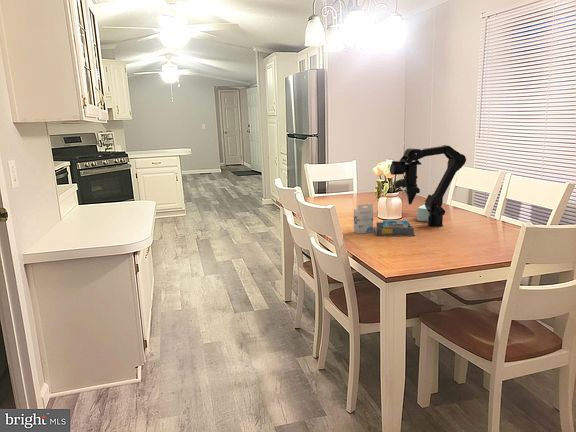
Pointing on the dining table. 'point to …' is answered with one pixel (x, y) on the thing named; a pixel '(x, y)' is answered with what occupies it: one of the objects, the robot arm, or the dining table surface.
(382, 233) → the rack
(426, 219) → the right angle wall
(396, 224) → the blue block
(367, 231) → the ink box
